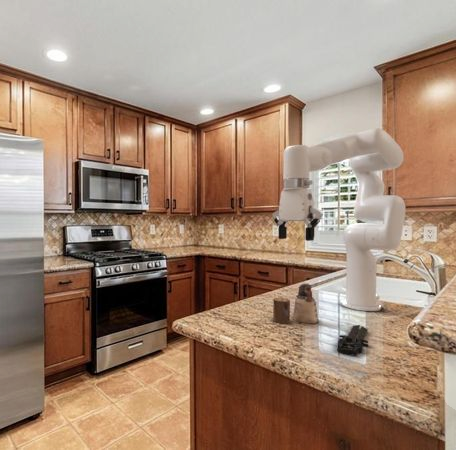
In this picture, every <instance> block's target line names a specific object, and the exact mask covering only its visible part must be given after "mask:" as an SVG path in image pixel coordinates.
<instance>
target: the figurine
mask: <svg viewBox="0 0 456 450" xmlns="http://www.w3.org/2000/svg"><path fill="white" fill-rule="evenodd" d="M318 315H319V314H318V308H317V302H316V300H315V298H314V297H313V291H312V285H311V284H310V283H301V284H300V285H299V286H298V292H297V295H296V298H295V299H294V308H293V316H292V317H293V320H295V321H297V322H299V323H304V324H316V323H318V321H319V318H318V317H319V316H318Z"/></svg>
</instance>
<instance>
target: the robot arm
mask: <svg viewBox="0 0 456 450" xmlns="http://www.w3.org/2000/svg"><path fill="white" fill-rule="evenodd" d="M348 160H349V167H350V169H351V171H352V174H353V175H354V177H355V180H356V182H357V191H356V196H355V202H354V208H353V216H354V218H355V219H356V220H357V221H361V222H362V223H359V222H358V223H352V224H350V225H348V226H347V227H345V229H344V230H343V231H344V232H343V240H344V245H345V252H346V265H345V266H346V267H345V268H346V272H345V273H346V276H345V285H346V286H345V299H343V300H341V302H340V304H341V306H343V307H345V308H348V309H351V310H356V311H364V312H379V311H381V310H382V306H381V305H380V304H379V303H377V301H379V300H380V299H381V296H380V295H379V294H377V270H378V269H377V267H378V264H377V263H378V262H377V259H376V256H375V255H374V253H373V252H372V251H371V250H375V251H387V252H388V251H395V250H397V249H398V248H399V246H400V244H401V240H402V234H403V231H404V230H403V229H404V224H405V219H406V209H407V208H406V203H405V200H404V199H403V198H402V197H401V196H399V195H393V194H387V195H386V194H385V186H386V185H385V182H384V181H383V179H382V178H381V177H380V176H379V175H378V174H377V173H375V172H381V171H391V170H396V169H397V168H399V167H400V166H402V164H403V162H404V152H403V149H402V148H401V147H400V145H398V143H397V142H396V140H395V139H394V138H393V137H392V136H391V135H390V134H389V133H388V132H387V131H385V130H384V129H382V128H379V127H374V128H371V129H369V128H368V129H364V130H361V131H357V132H352V133H349V134H345V135H343V136H339V137H336V138H333V139H330V140H327V141H324V142H321V143H318V144H315V145H311V146H307V145H305V144H294V145H290V146H287V147H285V148H284V151H283V167H282V168H283V169H282V170H283V172H282V173H283V174H282V176H283V177H282V178H283V181H282V187H283V188H282V190H281V193H280V198H279V207H278V208H279V209H277V210H276V211H274V212H272V214H271V216H272V218H273V221H274V223H275V224H276V227H277V228H278V235H277V236H278V239H279V240H286V239H287V235H288V232H287V231H288V227H287V226H286V225H287V224H288V223H289V222H303V223H304V224H305V226H306V227H305V229H304V230H305V231H304V232H305V233H304V234H305V235H304V236H305V237H304V238H305V239H304V240H305V241H307V242H309V241H310V242H312V241H315V228H317V226H318V225H319V223H320V222H321V220H322V218H323V215H324V213H323V212H322V211H320V210H318V209H317V208H316V207H315V198H314V192H313V189H312V188H310V186H311V185H313V180H312V179H310V172H311V173H313V172H317V171H319V172H320V171H323V170H326V169H327V168H329V167H330V166H332V165H337V164H341V163H343V162H345V161H348ZM384 194H385V195H384ZM364 222H367V223H364ZM369 222H370V223H369ZM371 222H383V223H371Z"/></svg>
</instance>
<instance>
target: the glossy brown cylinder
mask: <svg viewBox="0 0 456 450" xmlns="http://www.w3.org/2000/svg"><path fill="white" fill-rule="evenodd" d="M272 321H273V322H274V323H277V324H284V325H285V324H290V323H291V300H290V299H289V298H286V297H274V298H273V300H272Z"/></svg>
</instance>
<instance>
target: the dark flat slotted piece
mask: <svg viewBox="0 0 456 450" xmlns="http://www.w3.org/2000/svg"><path fill="white" fill-rule="evenodd" d="M367 332H368V328H366V327H364V326H363V325H362V326H361V324H355V325H352V326H351V327H350V329H349V331H348V333H347V334H346V335H345V334H340V335H339V338H338V341H337V347H336V350H337V352H338V353H342V354H344V355H353V356H354V357H355V356H357V355H358V354H362V352H363V347H369V341H368V340H367V339H365V337H366V335H367ZM353 340H354V342H353ZM352 342H353V343H352Z"/></svg>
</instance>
